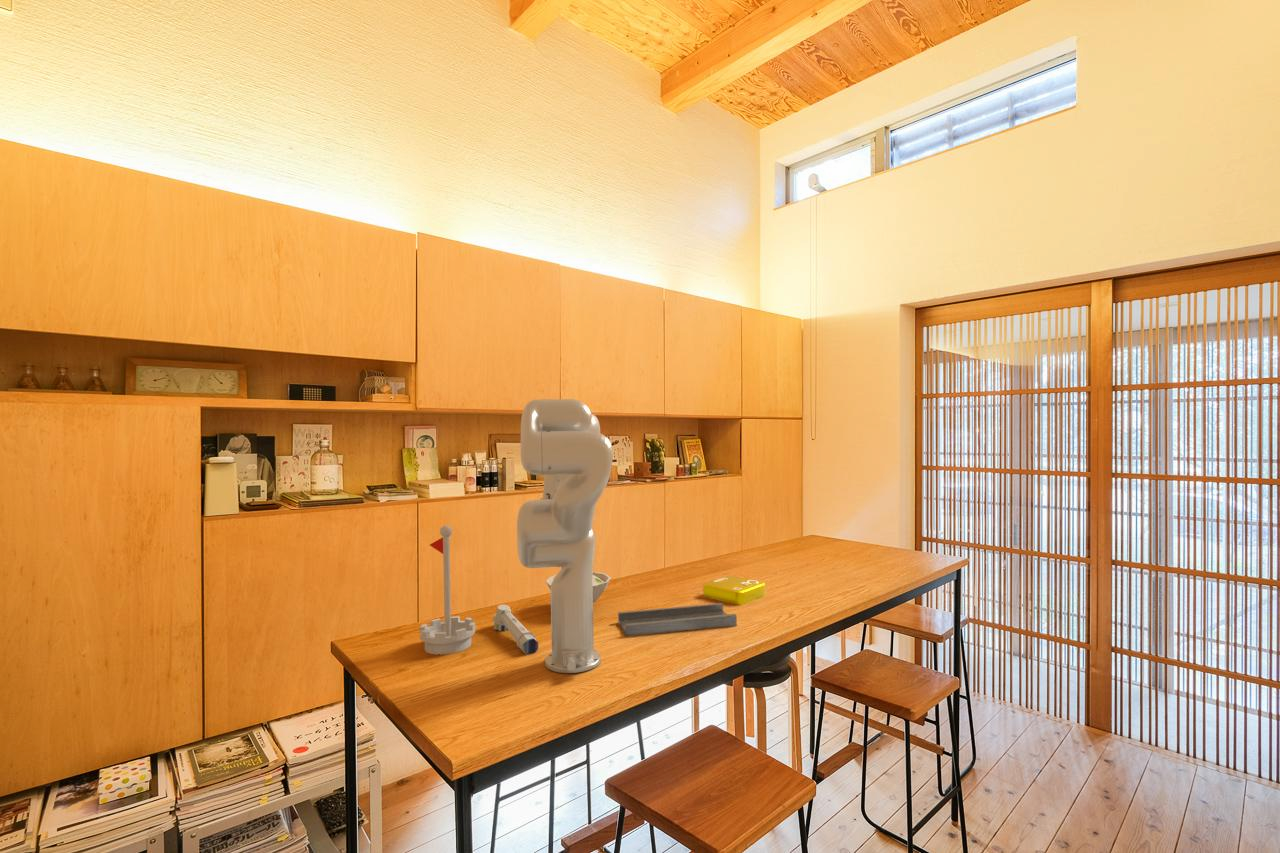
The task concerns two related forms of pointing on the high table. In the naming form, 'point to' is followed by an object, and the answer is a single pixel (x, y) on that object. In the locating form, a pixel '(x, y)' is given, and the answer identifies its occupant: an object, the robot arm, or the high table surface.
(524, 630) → the grey elongated piece
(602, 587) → the bowl
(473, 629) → the flag stand
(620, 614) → the pipe channel
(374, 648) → the high table surface
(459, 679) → the high table surface
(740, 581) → the element tile
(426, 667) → the high table surface
